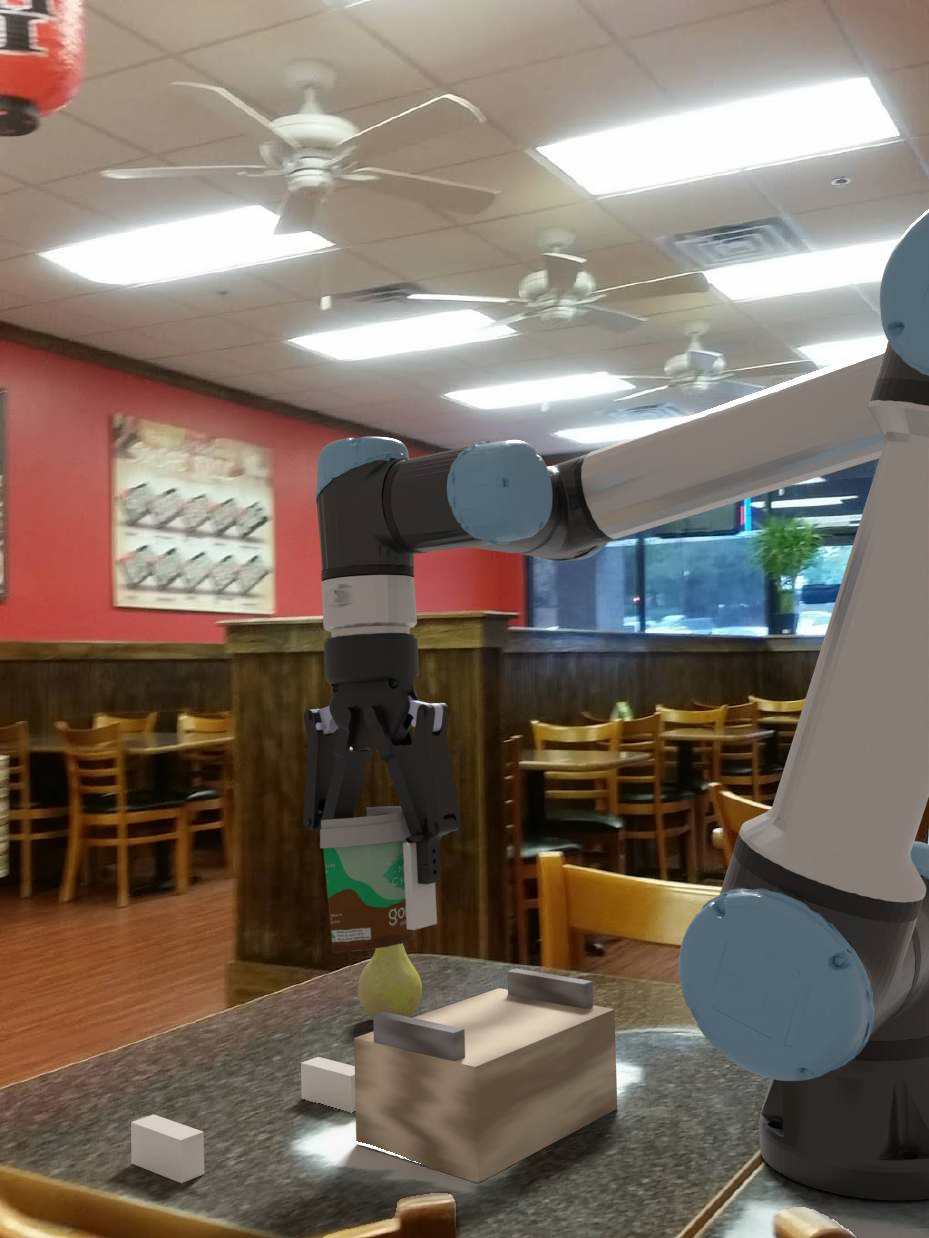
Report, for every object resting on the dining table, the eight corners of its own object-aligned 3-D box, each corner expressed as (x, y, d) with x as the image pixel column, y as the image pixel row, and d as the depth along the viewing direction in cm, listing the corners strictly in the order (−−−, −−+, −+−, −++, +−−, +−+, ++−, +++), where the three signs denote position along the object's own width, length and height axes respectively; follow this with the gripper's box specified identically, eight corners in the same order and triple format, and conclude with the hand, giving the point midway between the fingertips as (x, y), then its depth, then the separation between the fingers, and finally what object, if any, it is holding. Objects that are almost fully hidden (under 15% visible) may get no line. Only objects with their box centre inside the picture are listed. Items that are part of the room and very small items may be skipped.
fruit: (369, 1034, 121) (367, 913, 122) (348, 1016, 128) (346, 901, 129) (432, 1026, 124) (429, 907, 124) (407, 1008, 130) (405, 895, 131)
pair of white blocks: (368, 1106, 101) (368, 1069, 101) (181, 1183, 86) (181, 1140, 86) (318, 1091, 104) (318, 1056, 104) (131, 1163, 90) (130, 1122, 90)
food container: (405, 954, 89) (397, 816, 89) (326, 956, 90) (318, 820, 91) (446, 924, 101) (438, 803, 101) (375, 926, 102) (368, 806, 103)
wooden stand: (617, 1108, 99) (613, 984, 99) (478, 1183, 85) (474, 1037, 85) (501, 1080, 106) (498, 965, 107) (356, 1144, 92) (353, 1011, 93)
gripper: (250, 641, 100) (261, 921, 99) (437, 622, 88) (453, 942, 86) (315, 642, 106) (326, 906, 105) (499, 624, 94) (514, 923, 92)
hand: (383, 922), depth 96 cm, fingers closed on food container, 7 cm apart
